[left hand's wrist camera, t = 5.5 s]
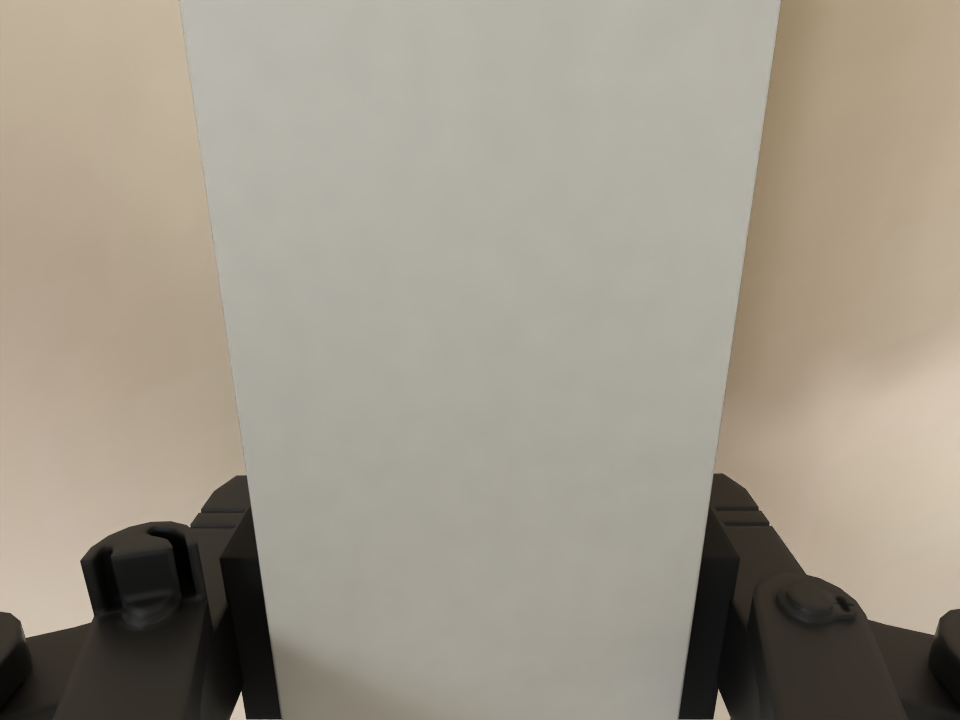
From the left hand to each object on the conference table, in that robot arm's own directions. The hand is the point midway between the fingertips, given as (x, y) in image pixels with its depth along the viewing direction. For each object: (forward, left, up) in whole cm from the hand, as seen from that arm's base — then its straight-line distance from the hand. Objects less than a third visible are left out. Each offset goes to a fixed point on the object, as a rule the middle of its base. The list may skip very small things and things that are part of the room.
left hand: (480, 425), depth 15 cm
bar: (+18, +13, -1) cm, 23 cm away
